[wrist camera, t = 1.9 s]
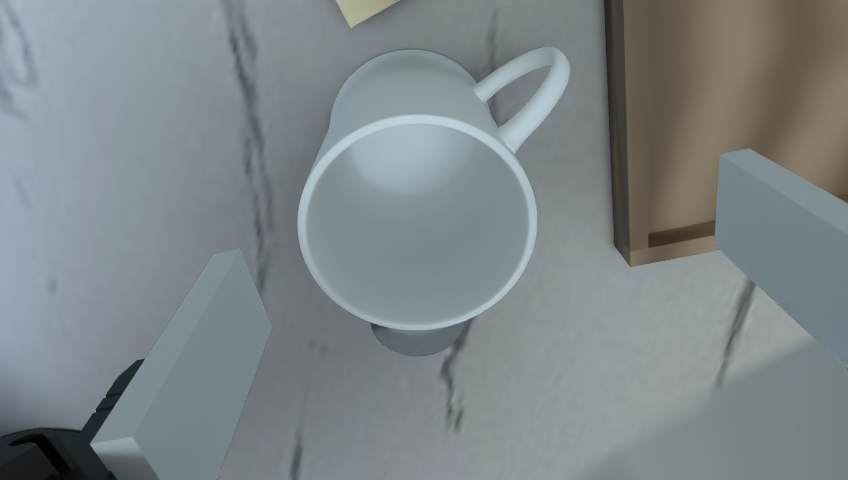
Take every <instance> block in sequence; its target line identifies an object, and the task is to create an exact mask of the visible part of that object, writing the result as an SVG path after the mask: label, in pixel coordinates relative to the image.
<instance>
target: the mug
mask: <svg viewBox="0 0 848 480" xmlns="http://www.w3.org/2000/svg"><path fill="white" fill-rule="evenodd" d="M549 65H552V66H551V69H550V71H549V73H548V75H547V77H546V78H545V80H544V82H543V83H542V85H541V86H540V87H539V89H538V90H537V91H536V93H535V94H534V95H533V96H532V98H531V99H530V100H529V101H528V102H527V103H526V104H525V105H524V107H523V108H522V109H521V110H520V111H519V112H518V113H517V114H516V115H515V116H513V117H512V118H511V119H510V120H509V121H508V122H506V123H505V124H504V125H502V126H501V127H499V128H498V126H497V125H496V123H495V121H494V120H493V118H492V116H491V114H490V110H489V106H488V103H487V101H488V100H489V98H490V97H491V96H493V95H494V94H495V93H496V92H497V91H499V90H500V89H501V88H503V87H504V86H506V85H507V84H509V83H510V82H512V81H514V80H515V79H517V78H519V77H520V76H522V75H524V74H526V73H528V72H530V71H533V70H535V69H538V68H541V67H544V66H549ZM569 76H570V65H569V62H568V60H567V58H566V57H565V55H564V54H563V53H562V52H561V51H560V50H558V49H557V48H554V47H541V48H537V49H534V50H531V51H529V52H526V53H524V54H522V55H520V56H518V57H516V58H514V59H513V60H511V61H509V62H507V63H506V64H504V65H503V66H501V67H499V68H498V69H496V70H495V71H494V72H492V73H491V74H489V75H488V76H487V77H485V78H484V79H482V80H481V81H479V82H478V83H477V82H476V81H475V80H474V78H473V77H472V76H471V75H470V74H469V73H468V72H467V71H466V70H465V69H464V68H462V67H461V66H460V65H458V64H457V63H456V62H454V61H452V60H451V59H449V58H447V57H445V56H442V55H440V54H437V53H434V52H430V51H425V50H417V49H405V50H397V51H392V52H388V53H385V54H382V55H379V56H377V57H375V58H373V59H371V60H369V61H368V62H366V63H365V64H363V65H362V66H360V67H359V68H358V69H357V70H356V71H355V72H354V73H353V74H352V75H351V76H350V77H349V78H348V79H347V80H346V82H345V83H344V84H343V86H342V88H341V89H340V91H339V93H338V95H337V97H336V99H335V102H334V105H333V108H332V112H331V117H330V127H329V129H328V131H327V134H326V136H325V138H324V141H323V143H322V146H321V148H320V150H319V153H318V155H317V157H316V160H315V162H314V165H313V167H312V169H311V172H310V174H309V176H308V179H307V181H306V184H305V186H304V189H303V192H302V195H301V199H300V203H299V209H298V220H297V228H298V238H299V244H300V248H301V252H302V255H303V258H304V260H305V263H306V265H307V267H308V269H309V271H310V273H311V274H312V276H313V278H314V279H315V281H316V282H317V283H318V285H319V286H320V287H321V288H322V290H323V291H324V292H325V293H326V294H327V295H328V296H329V297H330V298H331V299H332V300H333V301H335V302H336V303H337V304H338V305H340V306H341V307H342V308H344V309H345V310H347V311H348V312H350V313H352V314H353V315H355V316H357V317H359V318H361V319H363V320H366V321H368V322H371V323H374V324H377V325H380V326H384V327H388V328H394V329H401V330H430V329H437V328H443V327H447V326H451V325H454V324H458V323H460V322H463V321H466V320H468V319H470V318H472V317H474V316H476V315H478V314H480V313H482V312H483V311H485V310H487V309H488V308H490V307H491V306H492V305H494V304H495V303H496V302H498V301H499V300H500V299H501V298H502V297H503V296H504V295H505V294H506V293H507V292H508V291H509V290H510V289H511V288H512V287H513V286H514V284H515V283H516V282H517V280H518V279H519V277H520V276H521V274H522V273H523V271H524V269H525V267H526V266H527V263H528V261H529V259H530V257H531V254H532V251H533V248H534V244H535V239H536V233H537V209H536V202H535V198H534V194H533V190H532V188H531V185H530V182H529V180H528V178H527V176H526V174H525V172H524V170H523V168H522V166H521V165H520V163H519V161H518V160H517V158H516V156H515V155H514V153H516V152H517V150H518V149H519V147H520V146H521V144H522V143H523V142H524V141H525V140H526V139H527V138H528V137H529V136H530V135H531V134H532V133H533V132H534V131H535V129H536V128H537V127H538V126H539V125H540V124H541V123H542V122H543V120H544V119H545V118H546V117H547V116H548V114H549V113H550V112H551V111H552V109H553V108H554V106H555V105H556V104H557V102H558V101H559V99H560V97H561V96H562V94H563V92H564V90H565V88H566V86H567V83H568V80H569Z"/></svg>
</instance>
